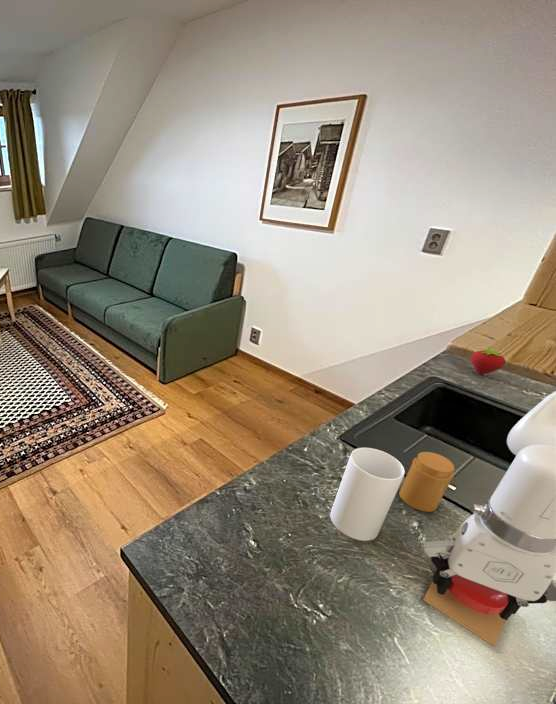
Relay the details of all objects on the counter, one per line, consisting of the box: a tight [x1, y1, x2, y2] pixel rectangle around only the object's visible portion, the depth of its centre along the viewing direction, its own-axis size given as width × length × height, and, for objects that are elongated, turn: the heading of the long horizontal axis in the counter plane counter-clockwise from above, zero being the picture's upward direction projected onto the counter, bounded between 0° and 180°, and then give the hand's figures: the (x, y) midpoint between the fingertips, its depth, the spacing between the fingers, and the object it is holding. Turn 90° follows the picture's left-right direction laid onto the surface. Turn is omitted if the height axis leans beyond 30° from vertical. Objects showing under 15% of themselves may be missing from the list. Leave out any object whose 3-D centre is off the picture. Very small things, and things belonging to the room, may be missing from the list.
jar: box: [398, 451, 456, 513], centre depth 81 cm, size 6×6×11 cm
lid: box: [448, 575, 509, 615], centre depth 63 cm, size 7×7×2 cm
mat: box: [422, 580, 506, 648], centre depth 65 cm, size 9×9×1 cm
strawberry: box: [470, 346, 506, 376], centre depth 120 cm, size 6×8×10 cm
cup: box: [329, 447, 406, 542], centre depth 76 cm, size 8×8×16 cm
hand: (469, 597), depth 65 cm, fingers closed on lid, 7 cm apart
